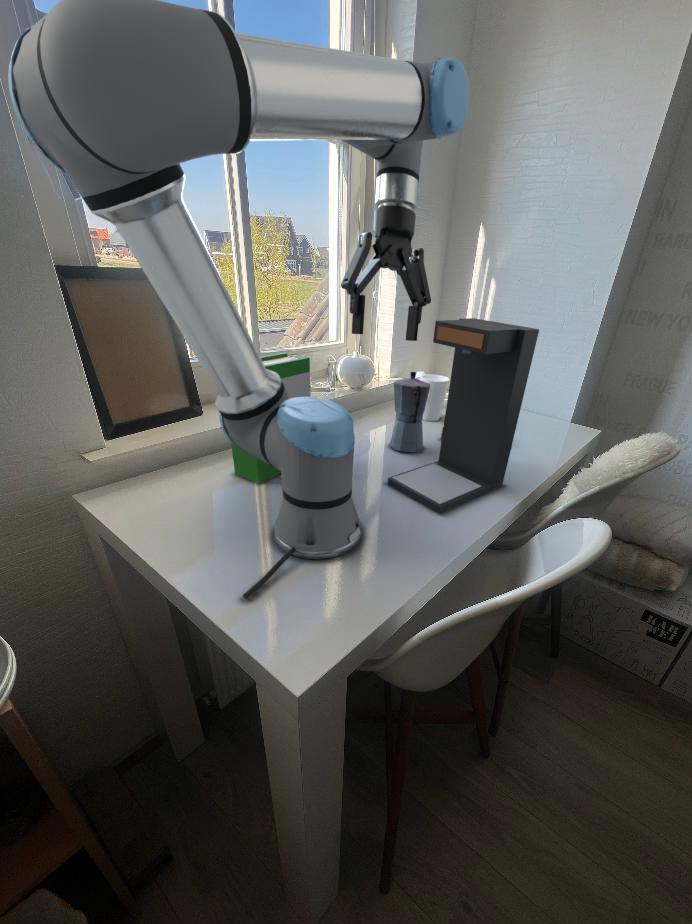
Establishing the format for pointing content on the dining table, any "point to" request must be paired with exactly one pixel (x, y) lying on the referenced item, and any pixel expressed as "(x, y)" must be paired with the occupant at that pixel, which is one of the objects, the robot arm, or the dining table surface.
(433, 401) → the foam cup
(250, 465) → the hardback book
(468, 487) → the coffee maker
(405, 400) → the moka pot
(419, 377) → the sitting furry creature
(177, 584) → the dining table surface
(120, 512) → the dining table surface
